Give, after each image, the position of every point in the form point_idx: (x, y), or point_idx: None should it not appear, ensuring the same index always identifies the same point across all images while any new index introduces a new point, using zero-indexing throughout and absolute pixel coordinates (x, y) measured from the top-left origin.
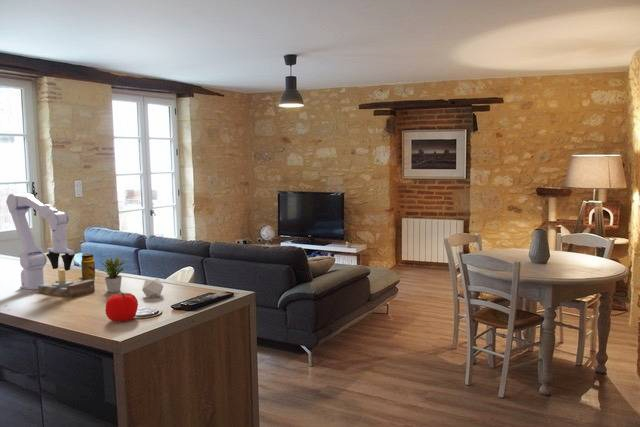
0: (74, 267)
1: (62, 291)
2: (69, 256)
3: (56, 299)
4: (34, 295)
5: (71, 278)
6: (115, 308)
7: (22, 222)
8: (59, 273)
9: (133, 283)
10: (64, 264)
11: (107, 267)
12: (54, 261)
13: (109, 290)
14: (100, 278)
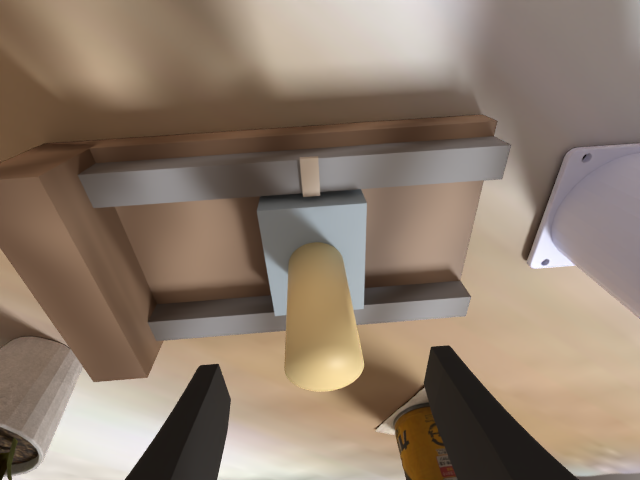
0: (634, 469)
1: (171, 160)
2: None
3: (80, 26)
4: (422, 26)
5: (515, 393)
6: None
7: None
8: (312, 313)
9: (139, 450)
10: (164, 452)
11: None
12: (480, 470)
13: (15, 345)
14: (370, 437)
